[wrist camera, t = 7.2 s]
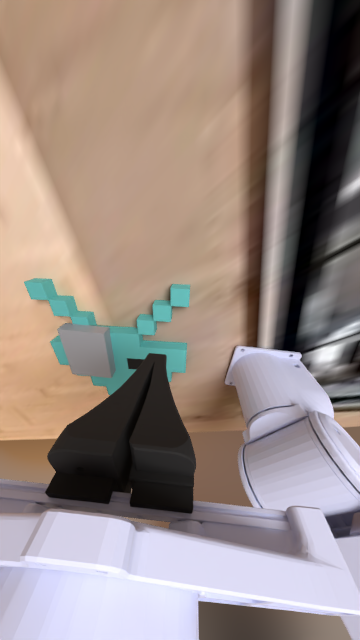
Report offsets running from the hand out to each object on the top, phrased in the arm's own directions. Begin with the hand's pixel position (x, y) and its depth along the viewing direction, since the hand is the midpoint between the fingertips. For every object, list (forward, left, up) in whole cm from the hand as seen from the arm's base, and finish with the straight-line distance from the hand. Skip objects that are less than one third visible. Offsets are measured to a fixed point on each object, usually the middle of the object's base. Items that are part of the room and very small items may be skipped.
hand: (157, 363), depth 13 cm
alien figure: (+7, +7, -11) cm, 15 cm away
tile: (+8, +7, -8) cm, 14 cm away
